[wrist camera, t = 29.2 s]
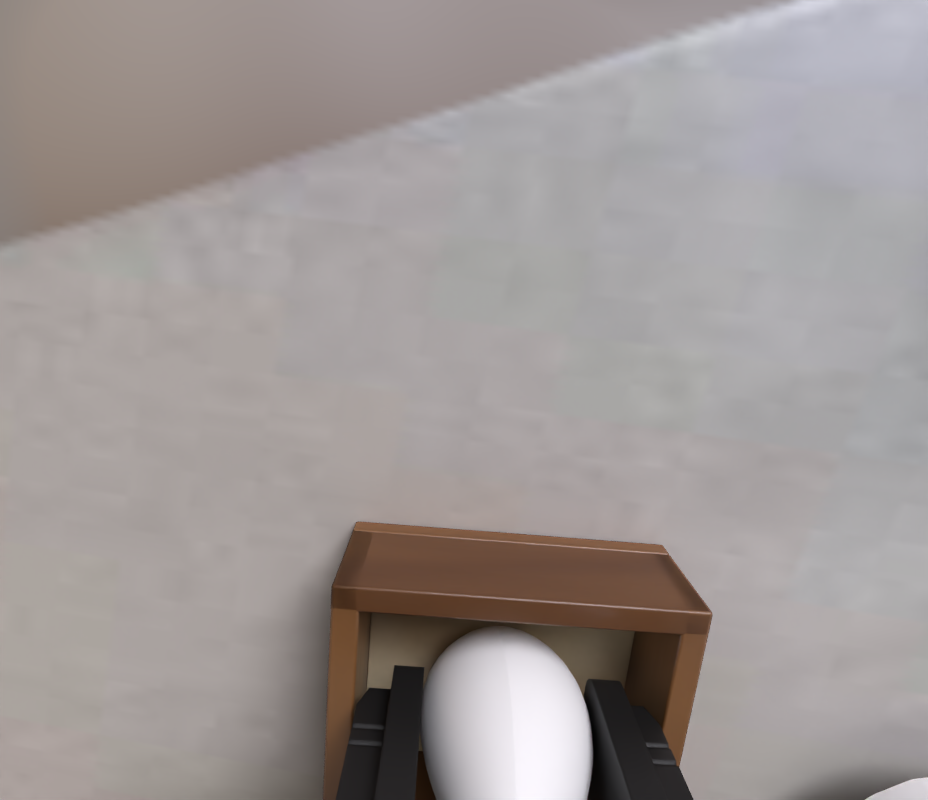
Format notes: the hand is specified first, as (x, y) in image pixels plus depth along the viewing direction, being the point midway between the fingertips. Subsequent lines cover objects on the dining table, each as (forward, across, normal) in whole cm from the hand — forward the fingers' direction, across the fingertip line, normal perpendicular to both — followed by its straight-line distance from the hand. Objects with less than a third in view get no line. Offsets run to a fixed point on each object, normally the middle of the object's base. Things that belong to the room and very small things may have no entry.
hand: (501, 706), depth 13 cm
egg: (+2, 0, 0) cm, 2 cm away
